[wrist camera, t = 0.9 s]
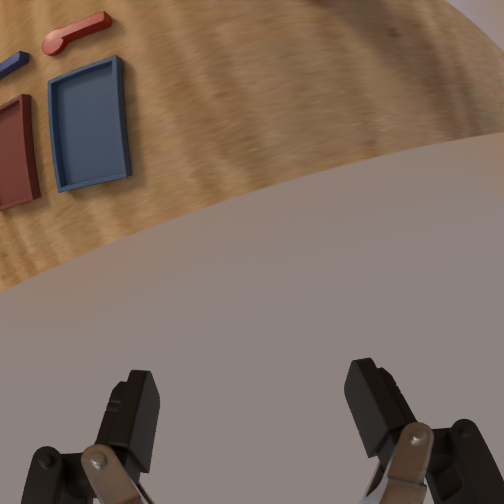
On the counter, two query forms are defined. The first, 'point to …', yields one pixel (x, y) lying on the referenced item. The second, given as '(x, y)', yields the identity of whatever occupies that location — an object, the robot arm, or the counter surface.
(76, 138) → the blue tray
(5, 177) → the red tray
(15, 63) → the blue spoon
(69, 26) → the red spoon
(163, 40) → the counter surface
